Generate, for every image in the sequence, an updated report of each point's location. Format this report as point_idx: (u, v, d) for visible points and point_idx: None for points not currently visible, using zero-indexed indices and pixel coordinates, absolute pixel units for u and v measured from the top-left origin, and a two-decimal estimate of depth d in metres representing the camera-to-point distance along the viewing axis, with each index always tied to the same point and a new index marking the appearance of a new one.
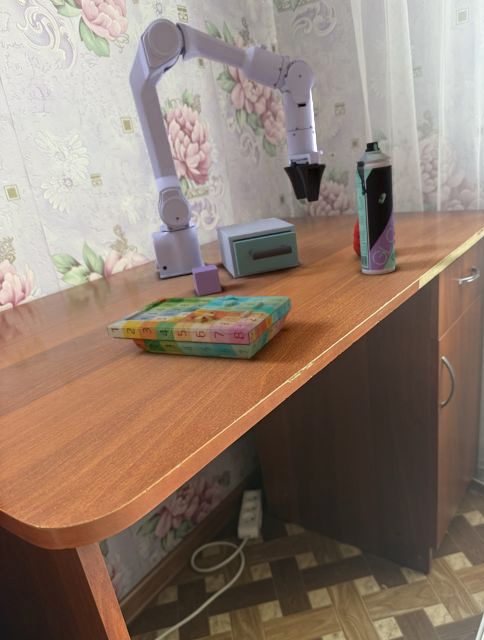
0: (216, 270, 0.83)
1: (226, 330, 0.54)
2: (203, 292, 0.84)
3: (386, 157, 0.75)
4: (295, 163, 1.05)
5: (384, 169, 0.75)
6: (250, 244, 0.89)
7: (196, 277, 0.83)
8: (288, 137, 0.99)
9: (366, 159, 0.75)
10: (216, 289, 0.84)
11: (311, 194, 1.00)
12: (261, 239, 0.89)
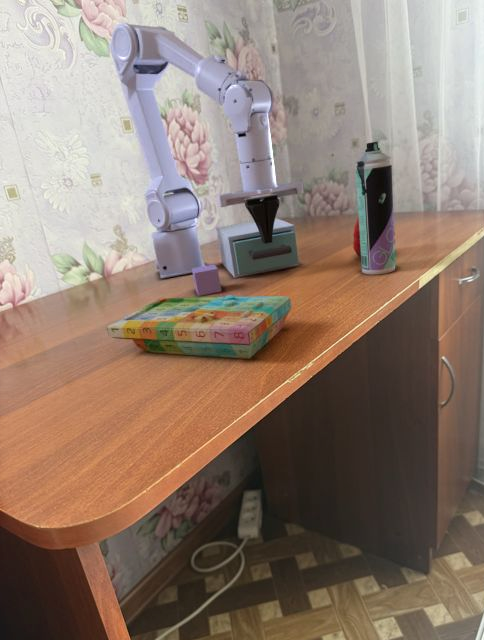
0: (216, 270, 0.83)
1: (226, 330, 0.54)
2: (203, 292, 0.84)
3: (386, 157, 0.75)
4: None
5: (384, 169, 0.75)
6: (250, 244, 0.89)
7: (196, 277, 0.83)
8: None
9: (366, 159, 0.75)
10: (216, 289, 0.84)
11: (261, 234, 0.88)
12: (261, 239, 0.89)
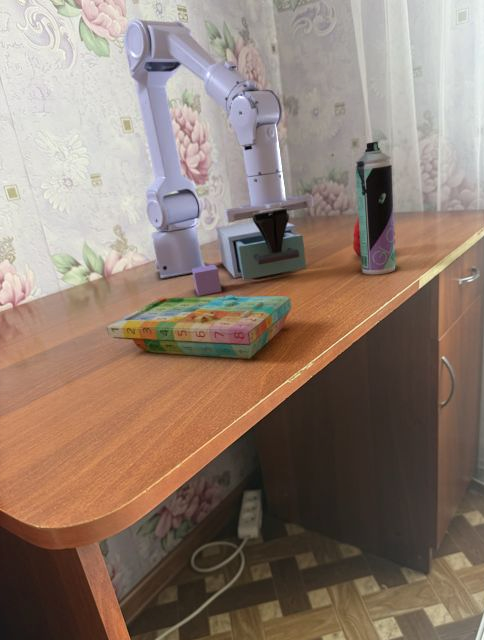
0: (216, 270, 0.83)
1: (227, 330, 0.54)
2: (203, 292, 0.84)
3: (386, 157, 0.75)
4: None
5: (384, 169, 0.75)
6: (255, 248, 0.85)
7: (196, 277, 0.83)
8: None
9: (366, 159, 0.75)
10: (216, 289, 0.84)
11: (270, 250, 0.84)
12: None
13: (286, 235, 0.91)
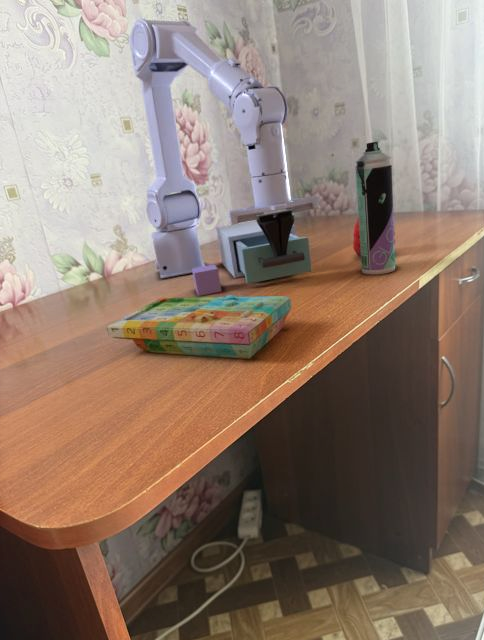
0: (216, 270, 0.83)
1: (227, 330, 0.54)
2: (203, 292, 0.84)
3: (386, 157, 0.75)
4: None
5: (384, 169, 0.75)
6: (259, 251, 0.82)
7: (196, 277, 0.83)
8: None
9: (366, 159, 0.75)
10: (216, 289, 0.84)
11: (274, 253, 0.82)
12: None
13: (291, 237, 0.88)
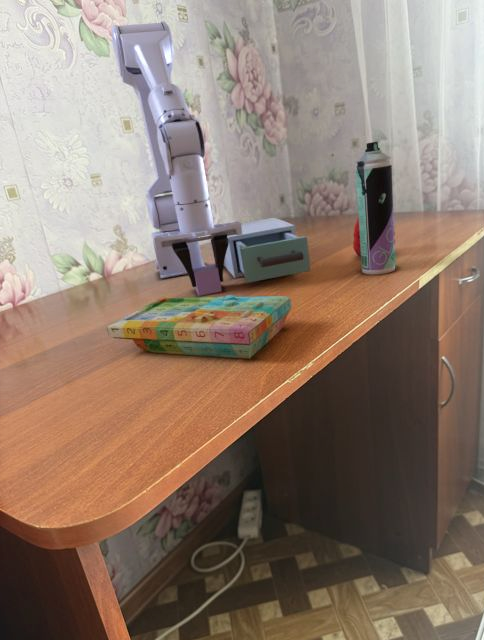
0: (216, 270, 0.83)
1: (227, 330, 0.54)
2: (203, 292, 0.84)
3: (386, 157, 0.75)
4: None
5: (384, 169, 0.75)
6: (258, 250, 0.83)
7: (196, 277, 0.83)
8: None
9: (366, 159, 0.75)
10: (216, 289, 0.84)
11: (189, 277, 0.85)
12: (270, 244, 0.83)
13: (290, 237, 0.89)
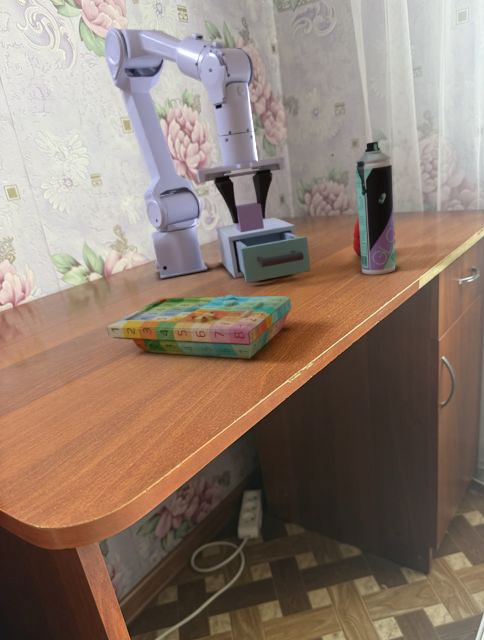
0: (259, 205, 0.82)
1: (227, 330, 0.54)
2: (245, 228, 0.83)
3: (386, 157, 0.75)
4: None
5: (384, 169, 0.75)
6: (258, 250, 0.83)
7: (239, 212, 0.82)
8: None
9: (366, 159, 0.75)
10: (258, 225, 0.83)
11: (231, 214, 0.84)
12: (270, 244, 0.83)
13: (290, 237, 0.89)
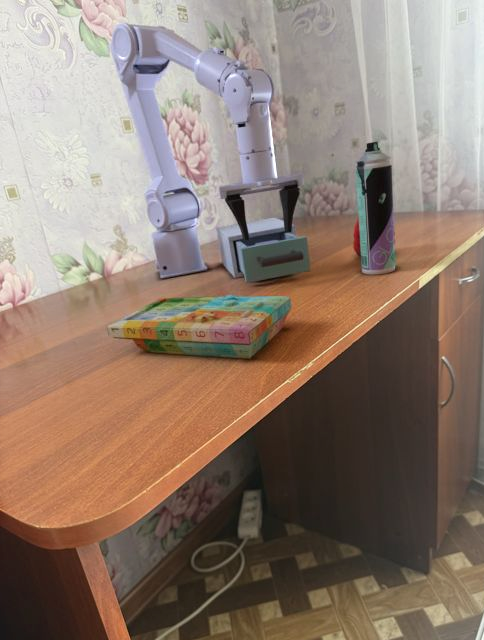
0: None
1: (227, 330, 0.54)
2: None
3: (386, 157, 0.75)
4: None
5: (384, 169, 0.75)
6: (258, 250, 0.83)
7: None
8: None
9: (366, 159, 0.75)
10: None
11: (241, 230, 0.86)
12: (270, 244, 0.83)
13: (290, 237, 0.89)
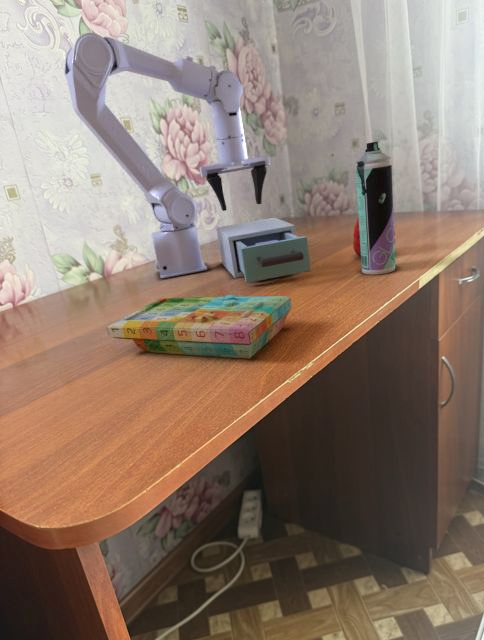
0: None
1: (227, 330, 0.54)
2: None
3: (386, 157, 0.75)
4: (253, 167, 1.05)
5: (384, 169, 0.75)
6: (258, 250, 0.83)
7: None
8: None
9: (366, 159, 0.75)
10: None
11: (220, 203, 1.06)
12: (270, 244, 0.83)
13: (290, 237, 0.89)
